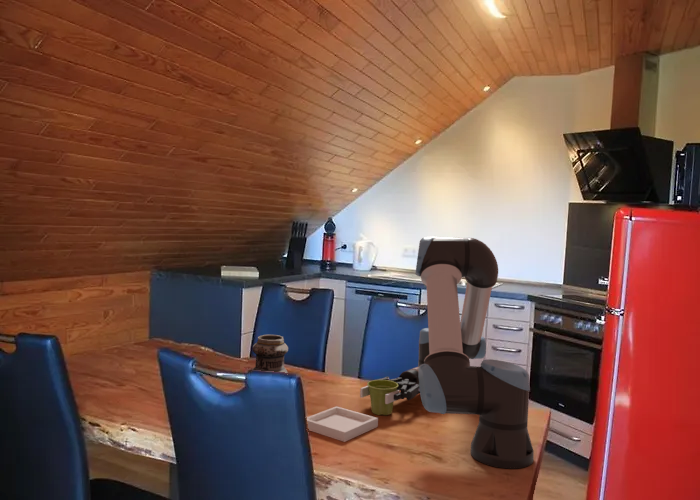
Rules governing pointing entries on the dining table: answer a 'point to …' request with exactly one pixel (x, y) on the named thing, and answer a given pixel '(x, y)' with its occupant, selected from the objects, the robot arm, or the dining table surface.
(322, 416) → the pot tray
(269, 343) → the apothecary jar
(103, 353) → the dining table surface
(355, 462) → the dining table surface
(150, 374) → the dining table surface
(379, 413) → the plant pot
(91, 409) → the dining table surface
